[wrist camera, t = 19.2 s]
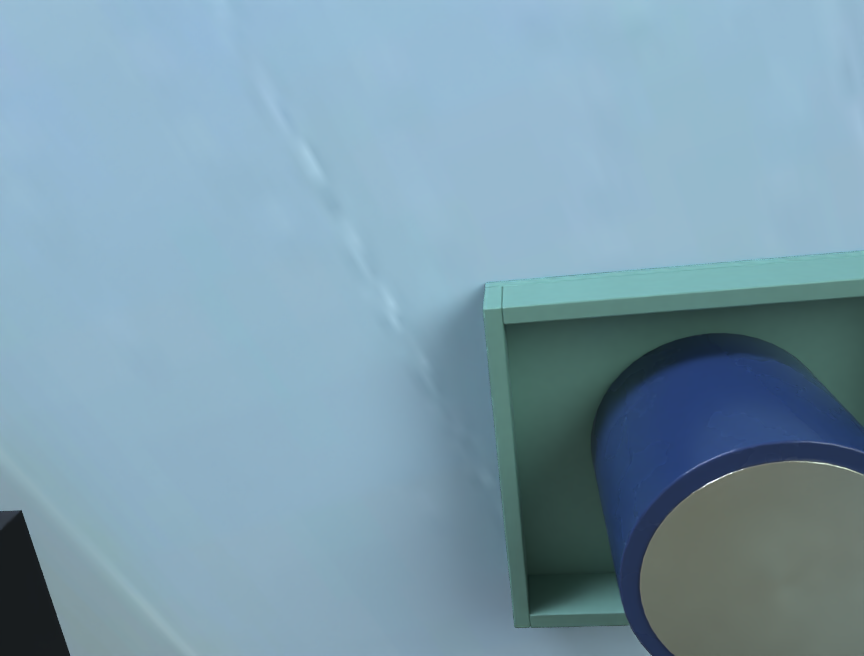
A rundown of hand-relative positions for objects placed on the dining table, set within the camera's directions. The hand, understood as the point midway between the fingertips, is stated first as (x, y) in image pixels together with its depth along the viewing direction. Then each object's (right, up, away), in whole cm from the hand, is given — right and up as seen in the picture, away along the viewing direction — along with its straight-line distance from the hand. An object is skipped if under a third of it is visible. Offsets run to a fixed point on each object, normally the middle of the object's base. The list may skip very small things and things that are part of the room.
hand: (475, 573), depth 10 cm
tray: (+13, -1, +26) cm, 28 cm away
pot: (+13, -9, +22) cm, 27 cm away
